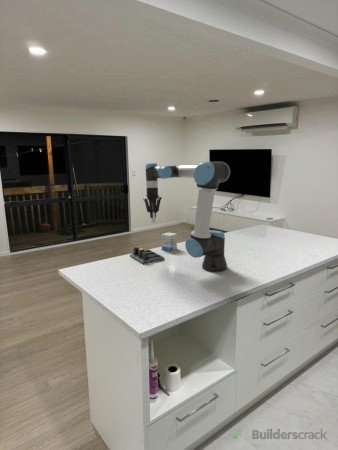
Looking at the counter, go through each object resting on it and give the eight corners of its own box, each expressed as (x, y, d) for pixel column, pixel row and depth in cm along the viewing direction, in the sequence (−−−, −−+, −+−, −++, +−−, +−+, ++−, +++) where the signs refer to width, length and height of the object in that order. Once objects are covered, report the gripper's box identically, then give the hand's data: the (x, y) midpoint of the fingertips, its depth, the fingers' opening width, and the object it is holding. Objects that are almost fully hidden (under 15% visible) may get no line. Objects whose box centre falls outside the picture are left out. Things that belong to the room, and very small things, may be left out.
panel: (164, 259, 211) (164, 250, 209) (143, 264, 203) (142, 254, 201) (150, 252, 227) (150, 243, 226) (130, 256, 219) (129, 247, 218)
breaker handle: (144, 256, 212) (144, 249, 211) (140, 257, 211) (140, 249, 209) (142, 255, 215) (142, 248, 213) (138, 256, 213) (138, 248, 212)
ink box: (170, 251, 230) (170, 235, 227) (161, 249, 235) (160, 234, 232) (177, 248, 236) (177, 233, 234) (168, 246, 241) (167, 231, 239)
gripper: (157, 186, 213) (158, 220, 218) (140, 187, 207) (142, 222, 211) (163, 186, 207) (164, 222, 212) (146, 188, 200) (147, 224, 205)
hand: (153, 222), depth 212 cm, fingers closed
